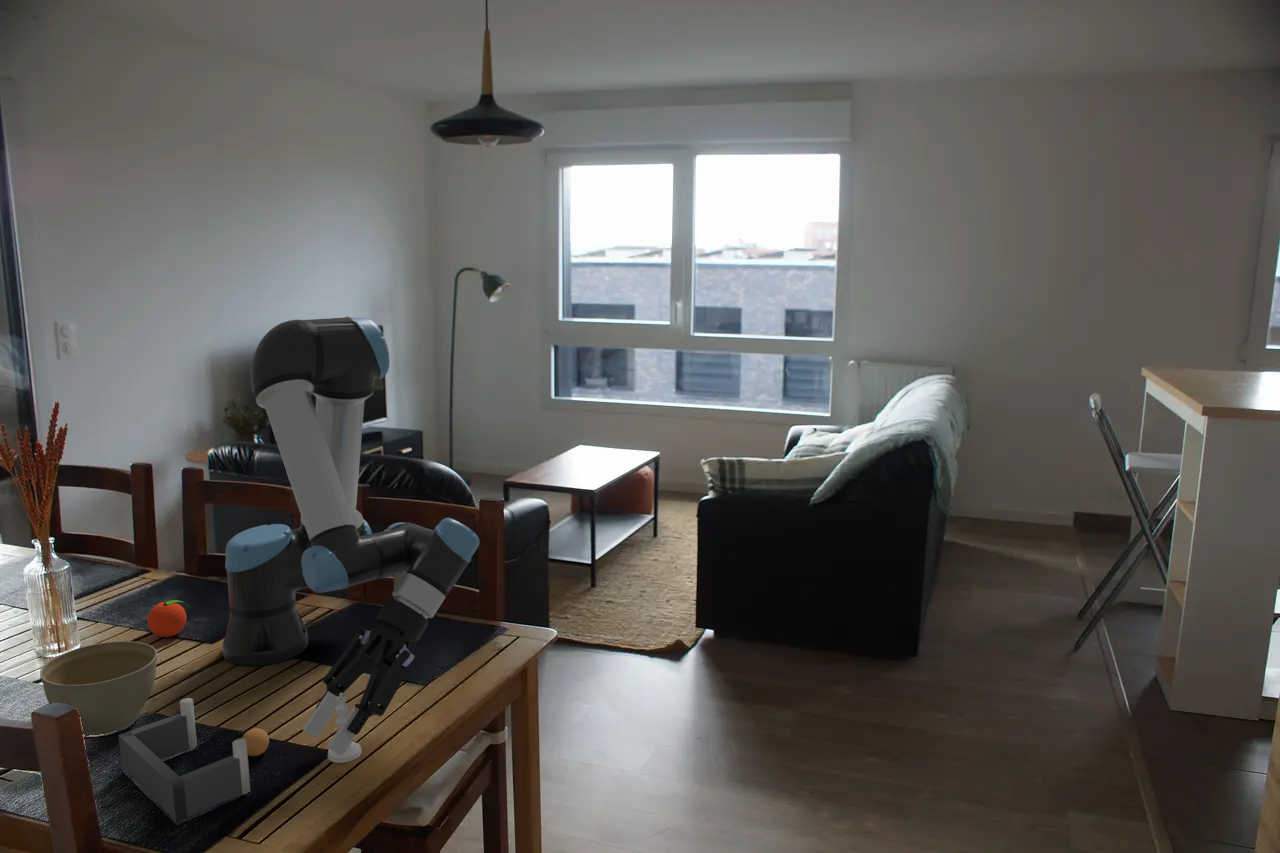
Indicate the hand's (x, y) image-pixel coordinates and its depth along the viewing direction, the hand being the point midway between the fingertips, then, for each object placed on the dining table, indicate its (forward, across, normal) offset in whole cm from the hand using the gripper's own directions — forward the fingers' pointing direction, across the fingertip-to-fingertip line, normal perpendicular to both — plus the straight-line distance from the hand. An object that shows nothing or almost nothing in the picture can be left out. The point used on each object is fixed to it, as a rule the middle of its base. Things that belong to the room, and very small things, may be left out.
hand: (321, 742), depth 138 cm
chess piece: (0, 0, -5) cm, 5 cm away
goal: (+13, +10, +9) cm, 19 cm away
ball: (+5, +10, +3) cm, 11 cm away
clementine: (0, +65, -5) cm, 65 cm away
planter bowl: (+15, +36, +10) cm, 41 cm away
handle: (-25, +36, -30) cm, 53 cm away
